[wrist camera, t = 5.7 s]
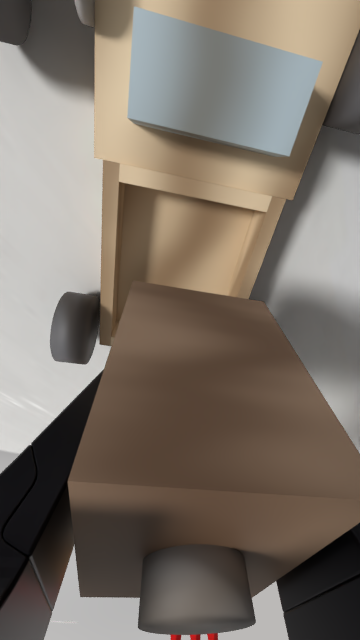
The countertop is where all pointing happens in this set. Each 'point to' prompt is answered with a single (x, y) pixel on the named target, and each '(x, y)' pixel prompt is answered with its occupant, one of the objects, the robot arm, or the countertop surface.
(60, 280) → the countertop surface
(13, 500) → the robot arm
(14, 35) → the wheel
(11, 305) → the countertop surface
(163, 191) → the chassis
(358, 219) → the countertop surface
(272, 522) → the block
